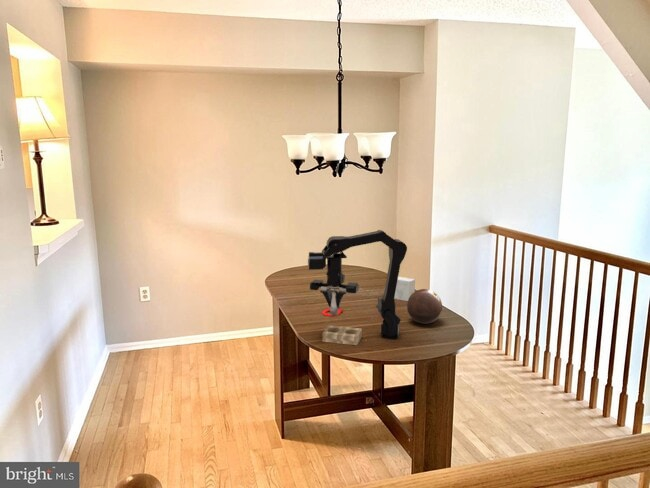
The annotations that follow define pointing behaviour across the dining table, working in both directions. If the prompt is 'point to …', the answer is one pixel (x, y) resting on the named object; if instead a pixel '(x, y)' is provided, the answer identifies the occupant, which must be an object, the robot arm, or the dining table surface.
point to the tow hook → (329, 310)
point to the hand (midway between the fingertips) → (334, 307)
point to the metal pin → (333, 302)
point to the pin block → (342, 335)
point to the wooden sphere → (424, 306)
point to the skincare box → (404, 288)
